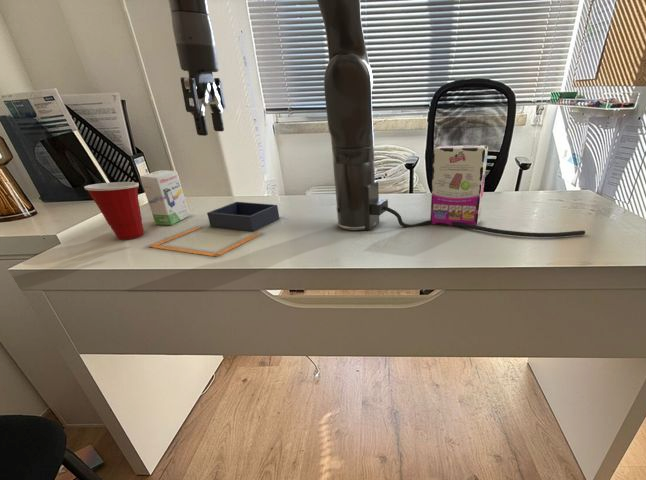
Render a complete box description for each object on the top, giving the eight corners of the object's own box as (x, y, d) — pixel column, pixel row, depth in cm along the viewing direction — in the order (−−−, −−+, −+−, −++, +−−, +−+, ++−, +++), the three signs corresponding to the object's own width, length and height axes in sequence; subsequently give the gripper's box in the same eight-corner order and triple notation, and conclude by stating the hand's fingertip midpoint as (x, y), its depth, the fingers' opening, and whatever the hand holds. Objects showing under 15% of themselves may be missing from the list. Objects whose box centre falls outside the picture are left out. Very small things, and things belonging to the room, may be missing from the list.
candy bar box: (480, 221, 92) (489, 144, 83) (476, 228, 88) (486, 148, 79) (434, 218, 96) (438, 144, 86) (429, 224, 92) (432, 147, 83)
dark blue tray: (279, 218, 101) (277, 204, 99) (253, 231, 93) (249, 216, 91) (239, 214, 106) (236, 201, 104) (210, 226, 97) (206, 212, 95)
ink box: (174, 215, 107) (159, 169, 101) (191, 216, 106) (177, 169, 100) (154, 225, 101) (137, 176, 94) (172, 225, 100) (155, 176, 93)
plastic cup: (165, 231, 96) (148, 179, 89) (127, 245, 88) (104, 189, 81) (136, 227, 100) (117, 177, 93) (96, 240, 92) (72, 186, 85)
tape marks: (260, 234, 91) (260, 234, 91) (216, 256, 80) (216, 256, 80) (197, 227, 97) (196, 227, 97) (148, 247, 86) (148, 246, 86)
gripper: (196, 41, 73) (213, 138, 82) (227, 46, 84) (239, 130, 94) (158, 39, 73) (180, 136, 83) (194, 44, 85) (209, 129, 94)
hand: (211, 133), depth 88 cm, fingers open, 8 cm apart
